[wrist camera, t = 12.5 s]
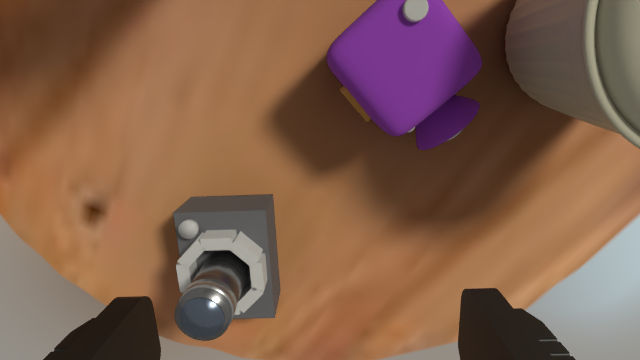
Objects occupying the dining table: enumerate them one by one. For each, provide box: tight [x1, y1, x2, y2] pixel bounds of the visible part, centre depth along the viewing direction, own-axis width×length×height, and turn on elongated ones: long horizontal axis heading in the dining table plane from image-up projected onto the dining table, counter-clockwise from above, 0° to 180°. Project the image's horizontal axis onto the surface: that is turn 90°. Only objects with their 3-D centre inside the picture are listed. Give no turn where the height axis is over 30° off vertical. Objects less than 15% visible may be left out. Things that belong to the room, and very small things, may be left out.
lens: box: [175, 250, 249, 341], centre depth 33 cm, size 5×5×8 cm
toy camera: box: [327, 0, 482, 150], centre depth 32 cm, size 11×14×10 cm
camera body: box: [173, 194, 280, 319], centre depth 39 cm, size 12×9×7 cm
